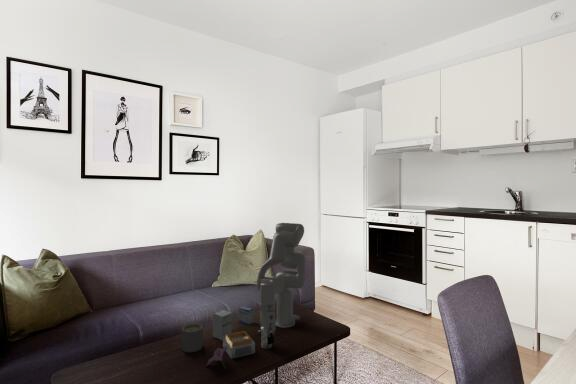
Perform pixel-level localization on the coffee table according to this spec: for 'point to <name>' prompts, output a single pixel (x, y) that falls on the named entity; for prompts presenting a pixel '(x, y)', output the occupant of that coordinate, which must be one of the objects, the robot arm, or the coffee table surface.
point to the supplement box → (222, 324)
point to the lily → (218, 355)
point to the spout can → (264, 338)
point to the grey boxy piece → (238, 344)
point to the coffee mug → (192, 337)
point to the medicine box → (245, 315)
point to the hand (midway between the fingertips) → (266, 339)
